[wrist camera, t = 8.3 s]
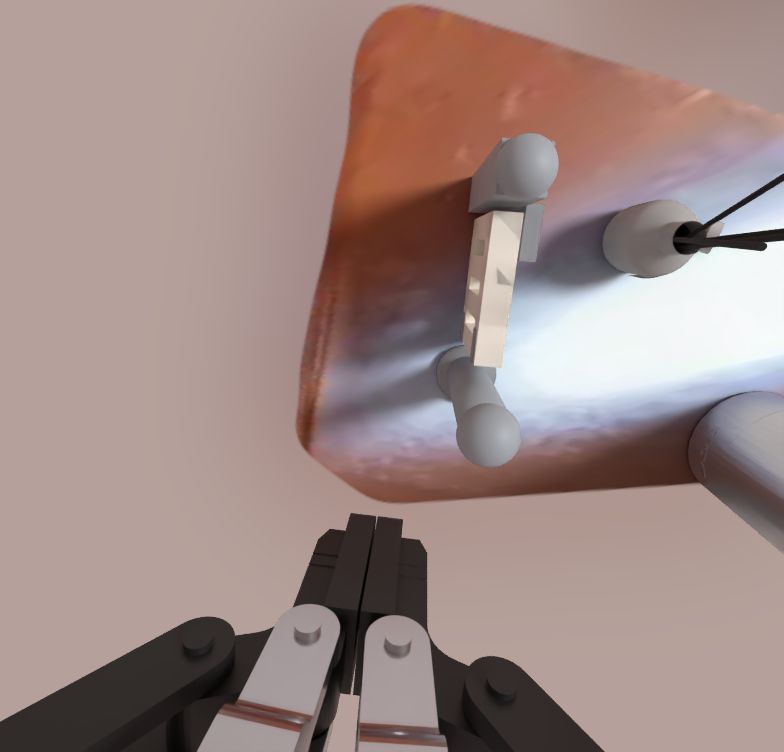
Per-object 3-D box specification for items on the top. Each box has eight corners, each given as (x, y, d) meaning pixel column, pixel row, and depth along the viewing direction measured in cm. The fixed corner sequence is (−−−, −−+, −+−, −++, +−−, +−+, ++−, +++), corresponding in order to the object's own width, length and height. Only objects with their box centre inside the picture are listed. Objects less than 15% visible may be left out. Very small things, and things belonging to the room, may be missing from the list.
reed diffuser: (568, 284, 34) (764, 335, 15) (563, 185, 32) (780, 96, 13) (713, 262, 33) (1125, 287, 14) (716, 159, 31) (1199, 21, 12)
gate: (482, 338, 35) (503, 368, 26) (459, 336, 35) (471, 365, 26) (498, 221, 32) (526, 212, 24) (473, 219, 32) (491, 210, 24)
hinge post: (498, 347, 35) (547, 409, 22) (490, 402, 37) (532, 493, 23) (439, 342, 36) (452, 401, 22) (433, 397, 37) (442, 485, 23)
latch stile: (524, 176, 32) (596, 130, 19) (512, 258, 34) (572, 267, 21) (470, 173, 32) (505, 123, 19) (460, 254, 34) (487, 261, 21)
